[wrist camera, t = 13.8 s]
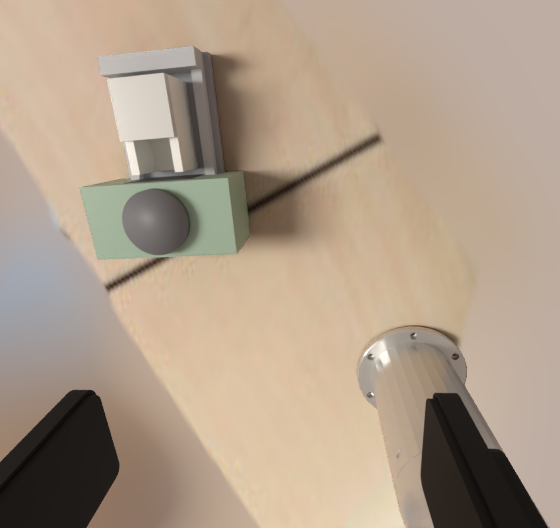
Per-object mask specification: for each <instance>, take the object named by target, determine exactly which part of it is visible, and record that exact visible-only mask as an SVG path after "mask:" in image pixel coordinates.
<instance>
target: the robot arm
mask: <svg viewBox="0 0 560 528" xmlns="http://www.w3.org/2000/svg"><path fill="white" fill-rule="evenodd" d="M412 333H413V334H412ZM357 376H358V382H359V387H360V389H361V391H362V394H363V396H364V397H365V398H366V399H367V401H368V402H369V403H370V404H372V405H373V406H374V407H375V408H377V411H378V415H379V420H380V424H381V429H382V434H383V438H384V443H385V447H386V452H387V457H388V461H389V466H390V471H391V475H392V480H393V484H394V489H395V494H396V498H397V502H398V506H399V511H400V514H401V517H402V519H403V522H404V524H405V526H406V528H550V527H549V526H548V524H547V523H546V521H545V520H544V518H543V516H542V515H541V513H540V511H539V510H538V508H537V507H536V505H535V504H534V502H533V500H532V499H531V497H530V496H529V494H528V492H527V491H526V489H525V487H524V486H523V484H522V482H521V480H520V479H519V477H518V475H517V474H516V472H515V470H514V469H513V467H512V465H511V464H510V462H509V461H508V458H507V457H506V455H505V453H504V452H503V450H502V448H501V447H500V445H499V443H498V442H497V440H496V438H495V436H494V435H493V433H492V431H491V430H490V428H489V426H488V425H487V423H486V421H485V420H484V418H483V416H482V414H481V413H480V411H479V410H478V408H477V406H476V404H475V403H474V401H473V399H472V397H471V396H470V394H469V393H468V391H467V389H466V387H465V386H464V385H465V381H466V377H467V367H466V363H465V359H464V357H463V355H462V353H461V351H460V350H459V349H458V347H457V346H456V344H455V343H454V342H453V341H452V340H451V339H449V338H448V337H447V336H445V335H444V334H442V333H440V332H438V331H435V330H433V329H430V328H425V327H415V326H408V327H401V328H397V329H393V330H390V331H388V332H386V333H384V334H382V335H380V336H378V337H377V338H376V339H374V340H373V341H372V342H371V343H370V344H369V345H368V346H367V347H366V348H365V350H364V351H363V353H362V354H361V356H360V359H359V362H358V368H357ZM118 472H119V461H118V457H117V454H116V450H115V447H114V443H113V440H112V437H111V433H110V430H109V426H108V423H107V419H106V416H105V413H104V409H103V406H102V402H101V399H100V397H99V396H97V395H96V393H95V392H94V391H92V390H72V391H70V392H69V393H68V394H66V395H65V397H64V398H63V399H62V400H61V401H60V402H59V403H58V404H57V405H56V406H55V407H54V408H53V409H52V410H51V411H50V412H49V413H48V414H47V415H46V416H45V417H44V418H43V419H42V420H41V421H40V422H39V423H38V424H37V425H36V426H35V427H34V428H33V429H32V430H31V431H30V432H29V433H28V435H26V436H25V437H24V438H23V439H22V440H21V441H20V443H18V444H17V446H16V447H15V448H14V449H13V450H12V451H11V452H10V453H9V454H8V455H7V456H6V457H5V458H4V459H3V460H2V461H1V462H0V528H86V527H87V526H88V524H89V522H90V520H91V519H92V517H93V516H94V514H95V512H96V511H97V509H98V507H99V506H100V504H101V502H102V500H103V499H104V497H105V495H106V494H107V492H108V490H109V488H110V487H111V485H112V484H113V482H114V480H115V479H116V476H117V475H118Z"/></svg>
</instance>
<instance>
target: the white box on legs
mask: <svg viewBox="0 0 560 528" xmlns="http://www.w3.org/2000/svg"><path fill="white" fill-rule="evenodd" d="M107 82H108V86H109V91H110V96H111V100H112V105H113V110H114V115H115V119H116V124H117V129H118V133H119V138H120V142H125V145H126V149H127V154H128V159H129V164H130V169H131V173H132V175H141V174H146V173H151V172H156V171H168V170H175V172H184V171H188V170H192V169H196V168H198V162H197V155H196V148H195V141H194V135H193V128H192V121H191V114H190V108H189V101H188V94H187V87H186V82H185V81H182V80H180V79H178V78H175V77H173V76H170V75H168V74H166V73H156V74H147V75H138V76H129V77H120V78H110V79H107Z"/></svg>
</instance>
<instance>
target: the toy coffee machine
mask: <svg viewBox="0 0 560 528" xmlns="http://www.w3.org/2000/svg"><path fill="white" fill-rule="evenodd" d="M97 61H98V66H99V70H100V75H101V76H104V77H108V78H120V77H129V76H138V75H147V74H156V73H166V74H168V75H170V76H173V77H175V78H178V79H180V80H182V81H185V82H186V87H187V94H188V101H189V108H190V114H191V121H192V128H193V135H194V141H195V148H196V155H197V162H198V168H196V169H192V170H188V171H184V172H175V170H168V171H156V172H151V173H146V174H141V175H132V173H131V169H130V164H129V159H128V154H127V149H126V145H125V142H123V145H124V150H125V155H126V159H127V164H128V169H129V174H130V179H118V180H113V181H108V182H104V183H99V184H94V185H89V186H85V187H80V192H81V196H82V200H83V204H84V208H85V212H86V216H87V220H88V224H89V228H90V232H91V235H92V239H93V243H94V247H95V251H96V255H97V259H98V260H101V259H127V258H152V257H177V256H203V255H228V254H237V253H238V252H239V250H240V249H241V247H242V246H243V245H244V243H245V242H246V240H247V239H248V237H249V236H250V228H249V218H248V209H247V199H246V189H245V180H244V171H233V172H225V167H224V158H223V150H222V142H221V134H220V125H219V117H218V109H217V100H216V92H215V84H214V75H213V67H212V59H211V54H210V53H208V52H201V51H200V50H198V49H197V48H196V47H194V46H188V47H179V48H170V49H161V50H152V51H144V52H135V53H126V54H117V55H108V56H99V57H97Z"/></svg>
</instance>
